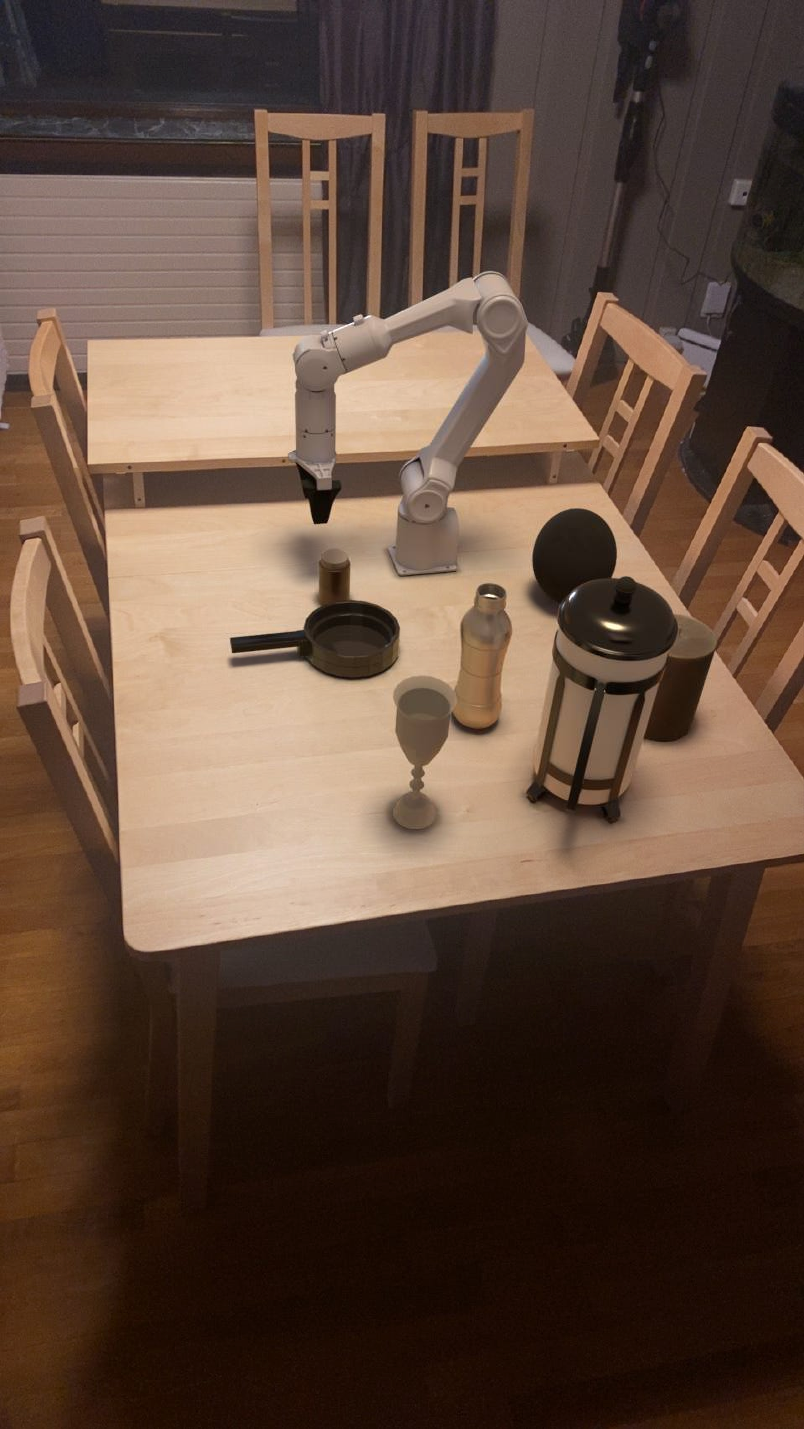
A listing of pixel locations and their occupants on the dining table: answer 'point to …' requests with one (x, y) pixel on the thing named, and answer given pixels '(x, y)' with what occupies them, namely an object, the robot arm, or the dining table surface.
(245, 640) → the skillet handle
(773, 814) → the dining table surface
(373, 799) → the dining table surface
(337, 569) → the salt shaker
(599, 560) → the decorative egg
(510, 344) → the robot arm
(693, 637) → the pillar candle
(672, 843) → the dining table surface
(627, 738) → the coffee press
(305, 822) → the dining table surface
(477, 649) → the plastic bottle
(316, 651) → the skillet
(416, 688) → the chalice
